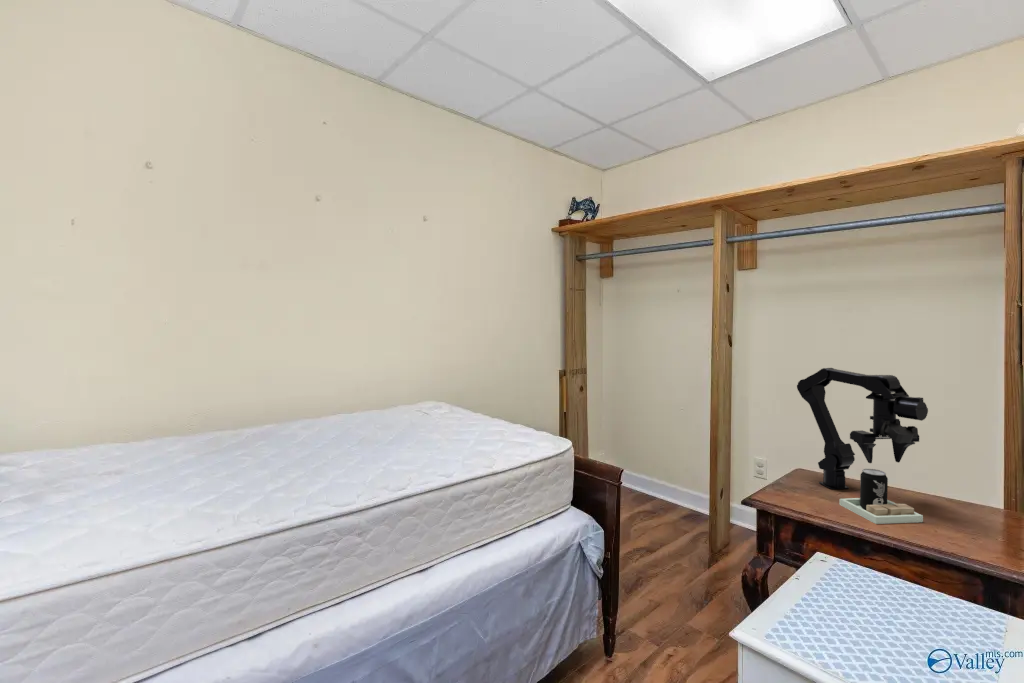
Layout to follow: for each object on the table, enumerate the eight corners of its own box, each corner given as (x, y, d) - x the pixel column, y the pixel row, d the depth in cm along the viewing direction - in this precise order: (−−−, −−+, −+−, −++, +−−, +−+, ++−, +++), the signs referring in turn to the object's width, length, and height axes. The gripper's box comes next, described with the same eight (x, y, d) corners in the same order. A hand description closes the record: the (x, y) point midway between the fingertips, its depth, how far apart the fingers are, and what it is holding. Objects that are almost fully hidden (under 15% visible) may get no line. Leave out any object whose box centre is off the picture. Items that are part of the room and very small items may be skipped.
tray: (839, 506, 147) (839, 498, 147) (882, 504, 148) (882, 497, 147) (875, 525, 133) (875, 517, 133) (922, 524, 134) (922, 515, 133)
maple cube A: (866, 516, 138) (866, 504, 138) (877, 516, 138) (877, 504, 138) (875, 521, 134) (876, 509, 134) (887, 521, 135) (887, 509, 134)
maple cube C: (892, 515, 139) (892, 503, 138) (904, 515, 138) (905, 503, 138) (900, 520, 135) (901, 508, 135) (913, 520, 135) (914, 508, 135)
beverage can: (865, 513, 140) (865, 474, 140) (856, 504, 147) (856, 467, 146) (891, 515, 138) (892, 475, 138) (881, 506, 145) (881, 469, 144)
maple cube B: (879, 516, 138) (879, 504, 138) (888, 515, 139) (888, 503, 138) (891, 521, 134) (891, 509, 134) (900, 520, 135) (900, 508, 135)
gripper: (877, 420, 140) (876, 471, 141) (936, 419, 141) (935, 469, 141) (848, 413, 151) (848, 460, 152) (904, 411, 152) (903, 458, 152)
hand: (883, 462), depth 149 cm, fingers open, 9 cm apart
